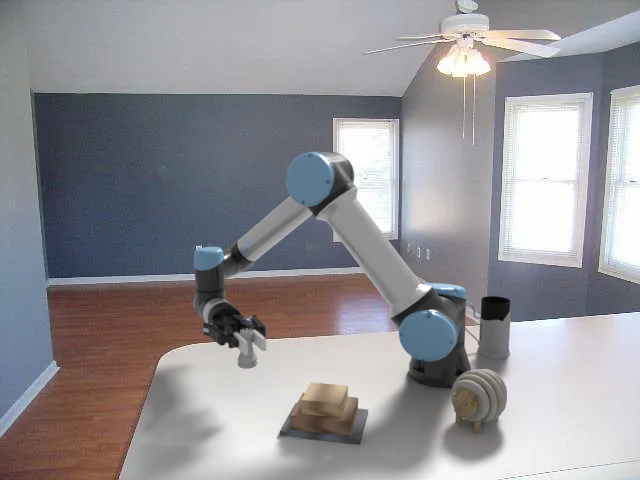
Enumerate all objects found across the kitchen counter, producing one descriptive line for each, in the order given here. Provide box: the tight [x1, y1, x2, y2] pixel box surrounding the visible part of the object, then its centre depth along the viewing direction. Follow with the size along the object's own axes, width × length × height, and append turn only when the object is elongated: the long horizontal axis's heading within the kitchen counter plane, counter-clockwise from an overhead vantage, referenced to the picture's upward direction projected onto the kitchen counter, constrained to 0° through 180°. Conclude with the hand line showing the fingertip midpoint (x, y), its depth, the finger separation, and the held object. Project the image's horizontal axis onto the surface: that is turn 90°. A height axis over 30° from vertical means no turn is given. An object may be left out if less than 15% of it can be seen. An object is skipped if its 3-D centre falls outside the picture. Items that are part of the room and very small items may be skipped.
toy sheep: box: [450, 368, 508, 434], centre depth 105 cm, size 11×17×11 cm, turn 138°
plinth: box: [279, 382, 369, 445], centre depth 105 cm, size 16×12×7 cm
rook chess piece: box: [237, 328, 259, 370], centre depth 111 cm, size 4×4×8 cm
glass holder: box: [465, 295, 512, 359], centre depth 142 cm, size 9×14×15 cm, turn 71°
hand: (255, 346), depth 106 cm, fingers closed on rook chess piece, 3 cm apart
